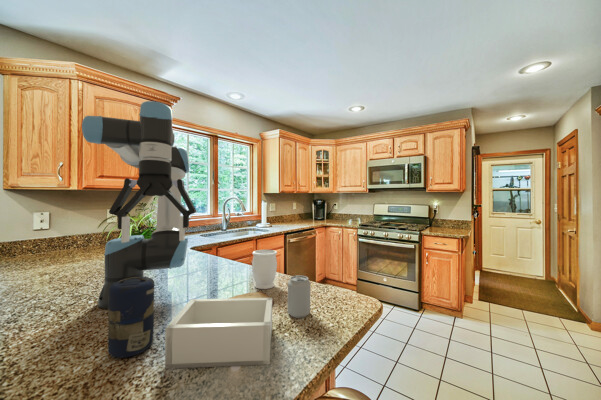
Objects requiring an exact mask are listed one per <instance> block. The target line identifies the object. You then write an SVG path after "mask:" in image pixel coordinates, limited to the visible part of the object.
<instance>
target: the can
mask: <svg viewBox="0 0 601 400" xmlns="http://www.w3.org/2000/svg"><path fill="white" fill-rule="evenodd" d="M287 313H288V314H289V315H290V316H291V317H292V318H296V319H302V318H305V317H308V315H309V314H310V313H311V281H310V280H309V277H308V276H306V275H302V274H301V275H300V274H298V275H296V274H295V275H292V276H290V277H289V280H288V282H287Z"/></svg>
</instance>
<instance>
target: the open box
mask: <svg viewBox="0 0 601 400" xmlns="http://www.w3.org/2000/svg"><path fill="white" fill-rule="evenodd" d="M272 300H273V297H270V298H233V299H228V298H196V299H193V298H191V299H190V300H189V301H188V302H187V303H186V304H185V305H184V306H183V307H182V309H181V310H180V311H179V312H178V313H177V314H176V316H175V317H174V318H173V319H172V320H171V321H170V322H169V323H168V325H167V326H166V327H165V329H164V330H165V331H164V332H165V335H164V342H165V343H164V346H165V347H164V369H165V370H169V369H170V370H171V369H189V368H190V369H192V368H213V367H214V368H215V367H216V368H217V367H238V366H239V367H240V366H261V365H262V366H265V365H268V366H269V365H270V363H271V362H270V361H271V352H272V351H271V350H272V349H271V347H272V332H273V304H272Z"/></svg>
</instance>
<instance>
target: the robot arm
mask: <svg viewBox="0 0 601 400" xmlns="http://www.w3.org/2000/svg"><path fill="white" fill-rule="evenodd" d="M138 115H139V120H135V119H123V118H118V117H108V116H107V117H106V116H102V115H86V116H84V118H83V119H82V122H81V131H82V136H83V138H84V140H85V141H86V142H87V143H90V144H97V145H104V146H107V147H108V148H110V149H111V150H112V151H113V152H115V153H116V154H118V155H119V158H120V159H121V160H122V161H123V162H124V163H125V164H127V165H129V166H131V167H133V168H136V169H138V179H132V178H128V177H127V178H125V179H123V180H124V181H123V187H122V189H121V190H120V192H119V194H118V195H117V197H116V199H115V201H114V202H113V203H112V205H111V207H110V209H109V210H108V213H109V214H110V215H113V216H116V217H117V229H118V230H121V231H120V232H121V235H120V236H121V237H118V238H114V239H111V240H108V241H107V242H106V243H105V245H104V254H103V256H104V282H103V285H102V289H101V290H100V293H99V296H98V300H97V306H98V308H99V309H103V310H108V304H109V288H110V286H111V285H112V284H113V283H115V282H117V281H120V280H123V279H127V278H131V277H144V271H153V270H154V271H155V270H162V269H163V270H165V269H169V270H170V269H175V268H181V267H182V266H184V264H185V260H186V256H187V251H188V242H189V238H188V237H187V236H186V229H187V228H189V227H190V216H191V215H194V214H195V213H197V209H196V207H195V205H194V203H193V202H192V199H191V198H190V196H189V194H188V192H187V190H186V187H185V182H184V180H182V179H184V178H185V177H186V174H188V173H189V172H190V165H189V157H188V151H187V149H186V148H185V147H183V146H176V145H175V134H174V129H173V110H172V108H171V107H170V106H169V105H167V104H165V103H163V102H159V101H154V100H147V101H143V102H142V103H140V109H139V113H138ZM136 186H138V187H139V189H138V190H137V191H136V192H135V194H134V195H133V196H132V197H131V198H130V199H129V200H128V198H129V196H130V194H131V193H132V190H133V189H134V188H135V187H136ZM147 196H148V197H155V196H156V197H157V210H156V211H157V212H156V224H155V225H156V227H155V230H153V232H151V235H150V238H145V236H144V235H143V234H138V235H137V234H136V235H130V234H131V233H130V230H131V229H130V223H131V216H128V214H130V212H131V211H132V210H133V209H134V208H135V207H136V206H137V205H138V203H140V202H141V201H142V200H143V199H144V198H145V197H147ZM182 199H183V201H184V203H185V205H186V207H187V208H186V207H185V206H184V205H183V204H182ZM127 200H128V202H127V203H126V201H127ZM125 203H126V204H125ZM181 214H182V215H181Z"/></svg>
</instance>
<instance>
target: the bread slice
mask: <svg viewBox="0 0 601 400" xmlns="http://www.w3.org/2000/svg"><path fill="white" fill-rule="evenodd" d="M233 298H271V297H269V296H268V295H267V294H265V293H264V292H261V291H257V292H248V293H243V294H238V295H234V296H232V297H229V298H227V299H233ZM274 303H275V300H274V299H272V305H273V304H274Z"/></svg>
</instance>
